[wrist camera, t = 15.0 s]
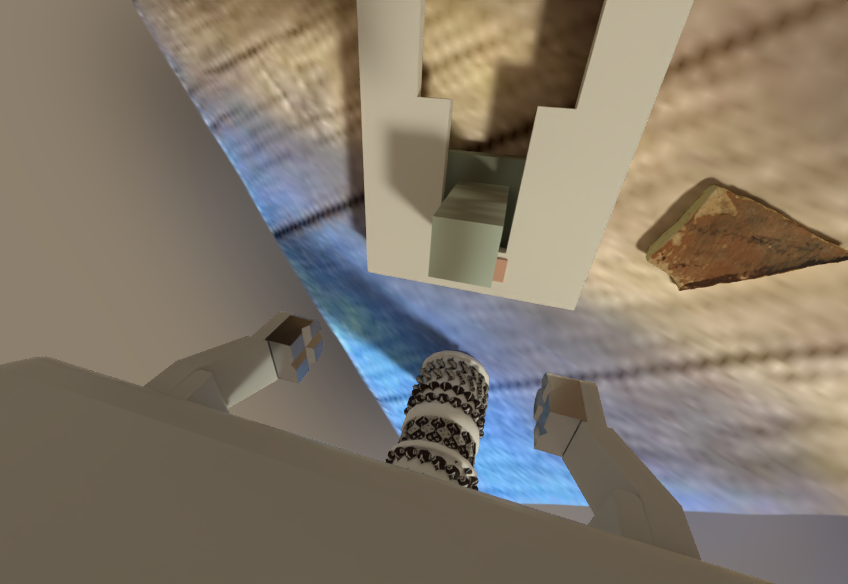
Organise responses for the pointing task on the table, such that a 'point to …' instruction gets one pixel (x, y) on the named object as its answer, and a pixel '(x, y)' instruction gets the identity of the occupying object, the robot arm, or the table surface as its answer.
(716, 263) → the shard
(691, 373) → the table surface
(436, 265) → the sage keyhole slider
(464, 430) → the decorative candle
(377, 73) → the keyhole plate
